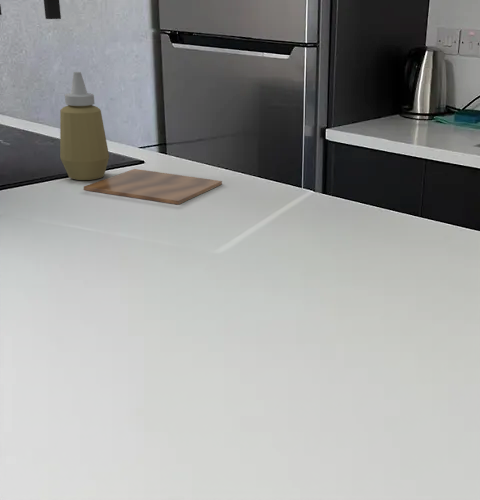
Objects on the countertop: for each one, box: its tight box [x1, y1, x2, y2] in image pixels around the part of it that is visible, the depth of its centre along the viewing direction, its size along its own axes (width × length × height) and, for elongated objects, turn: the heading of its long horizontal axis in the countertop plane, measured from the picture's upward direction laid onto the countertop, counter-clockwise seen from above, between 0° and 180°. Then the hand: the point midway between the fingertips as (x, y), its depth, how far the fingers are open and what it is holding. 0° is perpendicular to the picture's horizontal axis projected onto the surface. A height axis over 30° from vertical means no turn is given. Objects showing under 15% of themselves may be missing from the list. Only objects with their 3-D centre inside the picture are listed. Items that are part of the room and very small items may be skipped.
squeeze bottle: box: [59, 71, 110, 181], centre depth 117 cm, size 8×8×18 cm
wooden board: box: [83, 168, 223, 205], centre depth 116 cm, size 18×14×1 cm
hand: (23, 17), depth 114 cm, fingers open, 12 cm apart
